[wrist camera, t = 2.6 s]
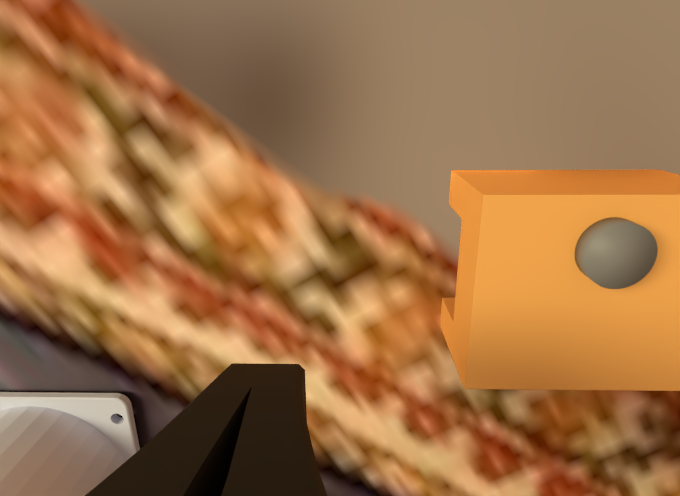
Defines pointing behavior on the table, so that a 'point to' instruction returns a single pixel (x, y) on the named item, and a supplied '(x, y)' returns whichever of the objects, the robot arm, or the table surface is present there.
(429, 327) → the table surface
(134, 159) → the table surface
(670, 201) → the lock block
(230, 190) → the table surface
